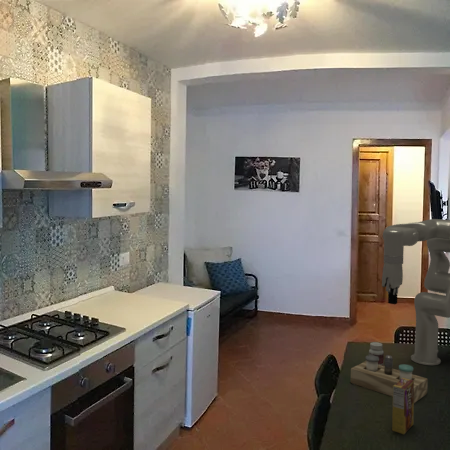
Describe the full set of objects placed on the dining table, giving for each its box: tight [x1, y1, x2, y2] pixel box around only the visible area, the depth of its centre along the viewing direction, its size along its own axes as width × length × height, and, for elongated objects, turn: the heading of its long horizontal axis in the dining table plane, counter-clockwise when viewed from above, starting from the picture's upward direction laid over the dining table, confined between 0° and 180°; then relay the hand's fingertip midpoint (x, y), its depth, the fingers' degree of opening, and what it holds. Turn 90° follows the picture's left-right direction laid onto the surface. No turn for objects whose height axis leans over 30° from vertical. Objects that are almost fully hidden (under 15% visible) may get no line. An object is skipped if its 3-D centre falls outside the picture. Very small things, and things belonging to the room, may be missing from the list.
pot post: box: [384, 354, 394, 375], centre depth 189 cm, size 3×3×7 cm
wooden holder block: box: [350, 360, 428, 404], centre depth 190 cm, size 12×26×6 cm, turn 45°
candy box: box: [391, 378, 415, 435], centre depth 158 cm, size 9×4×15 cm, turn 140°
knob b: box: [398, 363, 414, 380], centre depth 184 cm, size 5×5×8 cm
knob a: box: [365, 354, 379, 372], centre depth 194 cm, size 5×5×8 cm
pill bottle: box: [368, 341, 385, 366], centre depth 209 cm, size 6×6×11 cm
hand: (392, 303), depth 197 cm, fingers closed
